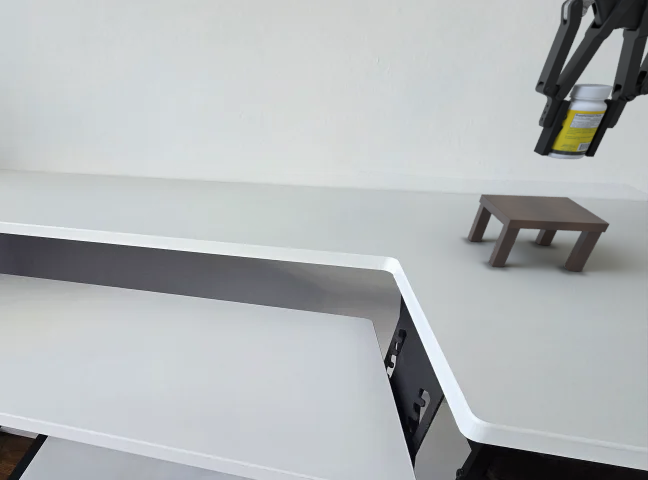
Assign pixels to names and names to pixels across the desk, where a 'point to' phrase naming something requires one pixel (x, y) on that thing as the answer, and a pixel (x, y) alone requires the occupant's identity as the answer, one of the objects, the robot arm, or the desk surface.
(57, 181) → the desk surface
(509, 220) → the small wooden table
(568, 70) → the robot arm
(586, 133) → the supplement bottle
